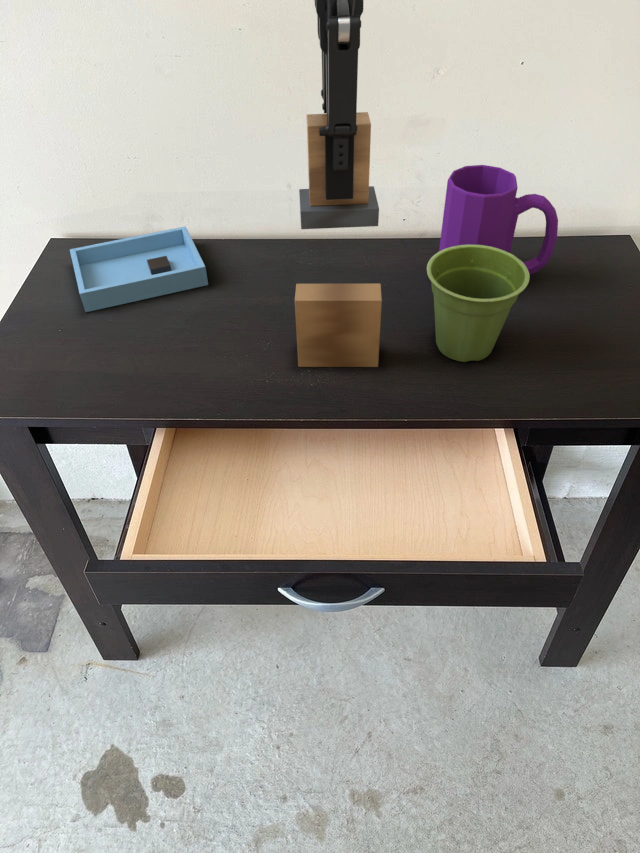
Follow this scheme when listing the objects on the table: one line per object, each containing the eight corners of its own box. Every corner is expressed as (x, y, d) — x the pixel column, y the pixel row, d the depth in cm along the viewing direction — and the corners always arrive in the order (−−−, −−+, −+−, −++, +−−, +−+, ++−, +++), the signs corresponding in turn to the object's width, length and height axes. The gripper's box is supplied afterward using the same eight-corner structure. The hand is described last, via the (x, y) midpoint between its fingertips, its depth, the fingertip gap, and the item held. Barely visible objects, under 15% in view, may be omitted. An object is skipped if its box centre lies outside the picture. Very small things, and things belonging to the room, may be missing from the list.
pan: (85, 312, 92) (79, 293, 90) (75, 267, 100) (69, 249, 98) (208, 285, 96) (205, 266, 94) (188, 244, 104) (185, 226, 102)
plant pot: (411, 368, 82) (419, 291, 74) (426, 313, 90) (434, 239, 82) (508, 383, 80) (527, 306, 72) (514, 325, 88) (532, 250, 80)
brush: (301, 229, 68) (296, 130, 61) (299, 206, 71) (295, 110, 64) (378, 226, 68) (383, 127, 61) (373, 203, 72) (377, 107, 65)
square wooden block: (298, 367, 83) (294, 300, 75) (299, 349, 85) (296, 283, 78) (378, 367, 82) (381, 300, 75) (377, 349, 85) (380, 283, 78)
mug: (436, 260, 99) (447, 162, 89) (541, 266, 98) (566, 167, 87) (435, 295, 93) (448, 194, 82) (548, 301, 91) (576, 199, 81)
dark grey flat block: (151, 275, 97) (150, 269, 96) (147, 265, 99) (146, 259, 98) (171, 271, 98) (170, 265, 97) (167, 261, 100) (166, 255, 99)
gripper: (400, -86, 45) (383, 226, 62) (375, -117, 57) (366, 154, 73) (292, -83, 45) (304, 229, 62) (288, -114, 57) (299, 157, 73)
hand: (338, 188), depth 68 cm, fingers closed on brush, 3 cm apart
